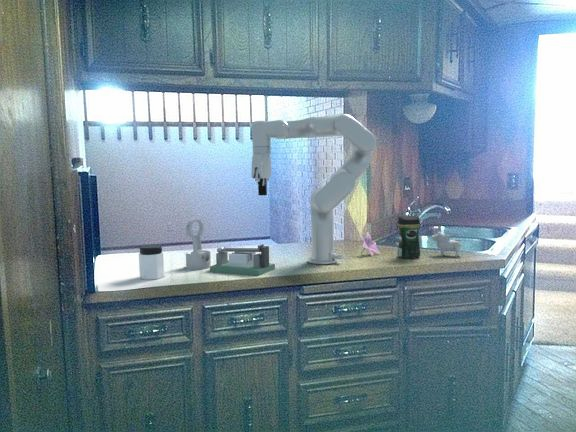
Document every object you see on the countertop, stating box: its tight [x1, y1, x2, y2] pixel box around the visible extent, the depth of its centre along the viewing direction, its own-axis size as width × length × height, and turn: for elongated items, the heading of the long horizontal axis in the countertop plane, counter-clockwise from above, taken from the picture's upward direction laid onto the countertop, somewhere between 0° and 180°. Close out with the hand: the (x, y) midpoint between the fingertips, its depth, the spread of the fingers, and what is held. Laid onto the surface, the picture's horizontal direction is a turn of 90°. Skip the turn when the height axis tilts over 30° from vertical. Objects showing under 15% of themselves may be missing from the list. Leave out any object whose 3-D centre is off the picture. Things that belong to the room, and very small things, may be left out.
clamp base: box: [209, 245, 276, 277], centre depth 215 cm, size 22×14×10 cm, turn 66°
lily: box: [359, 231, 382, 257], centre depth 245 cm, size 12×12×10 cm
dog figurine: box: [431, 231, 462, 258], centre depth 240 cm, size 5×13×11 cm, turn 69°
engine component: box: [185, 217, 212, 271], centre depth 220 cm, size 11×20×10 cm
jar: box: [138, 244, 165, 281], centre depth 203 cm, size 9×8×12 cm
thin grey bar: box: [216, 244, 265, 253], centre depth 215 cm, size 19×4×3 cm, turn 66°
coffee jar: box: [396, 215, 421, 259], centre depth 237 cm, size 10×8×19 cm
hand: (262, 195), depth 225 cm, fingers closed
